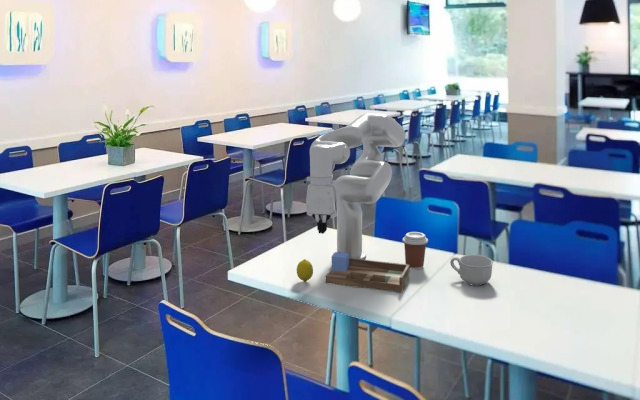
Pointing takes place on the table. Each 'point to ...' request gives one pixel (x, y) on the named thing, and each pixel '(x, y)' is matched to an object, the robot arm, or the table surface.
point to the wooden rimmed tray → (371, 275)
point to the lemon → (304, 270)
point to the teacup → (473, 268)
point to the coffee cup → (415, 249)
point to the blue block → (340, 261)
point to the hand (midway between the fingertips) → (322, 232)
